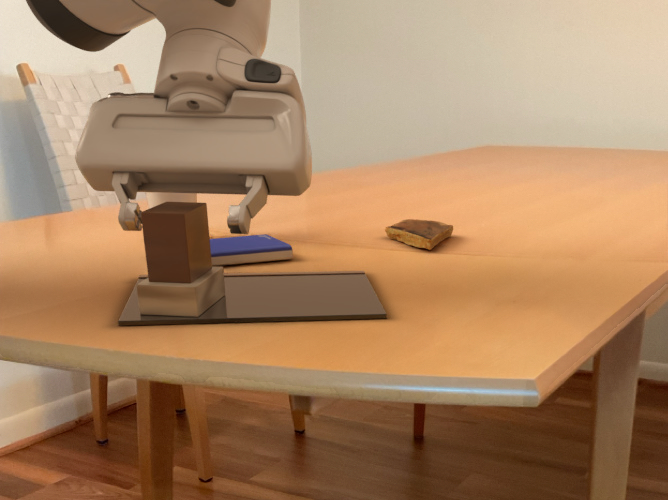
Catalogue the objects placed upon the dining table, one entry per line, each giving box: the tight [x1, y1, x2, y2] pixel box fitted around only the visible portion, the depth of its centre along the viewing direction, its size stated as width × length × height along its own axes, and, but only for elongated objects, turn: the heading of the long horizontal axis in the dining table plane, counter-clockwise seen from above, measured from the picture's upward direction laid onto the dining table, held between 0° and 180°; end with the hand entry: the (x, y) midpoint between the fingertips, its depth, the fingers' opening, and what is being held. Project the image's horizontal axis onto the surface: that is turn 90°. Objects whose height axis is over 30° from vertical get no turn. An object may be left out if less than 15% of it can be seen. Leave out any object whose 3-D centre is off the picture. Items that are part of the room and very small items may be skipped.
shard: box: [384, 218, 454, 251], centre depth 108 cm, size 11×8×2 cm
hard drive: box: [210, 233, 294, 267], centre depth 99 cm, size 2×8×12 cm
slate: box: [117, 270, 388, 327], centre depth 83 cm, size 22×17×1 cm
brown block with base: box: [135, 202, 225, 317], centre depth 77 cm, size 8×5×8 cm, turn 174°
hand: (183, 228), depth 77 cm, fingers open, 8 cm apart
